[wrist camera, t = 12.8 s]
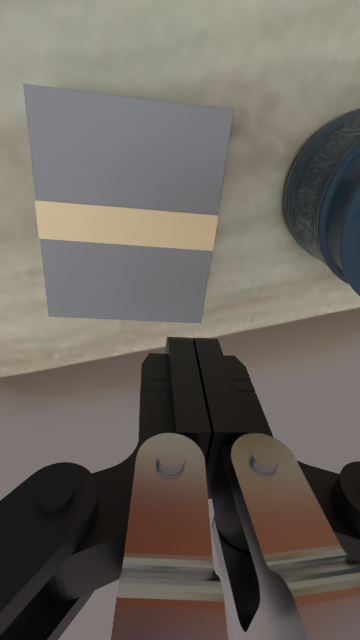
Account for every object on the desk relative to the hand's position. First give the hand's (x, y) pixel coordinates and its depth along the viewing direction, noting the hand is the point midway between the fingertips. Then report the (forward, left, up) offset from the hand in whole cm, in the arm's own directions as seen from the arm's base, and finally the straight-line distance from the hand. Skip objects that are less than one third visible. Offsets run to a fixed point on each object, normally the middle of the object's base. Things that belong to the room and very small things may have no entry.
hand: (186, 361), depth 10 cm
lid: (+3, 0, -17) cm, 17 cm away
